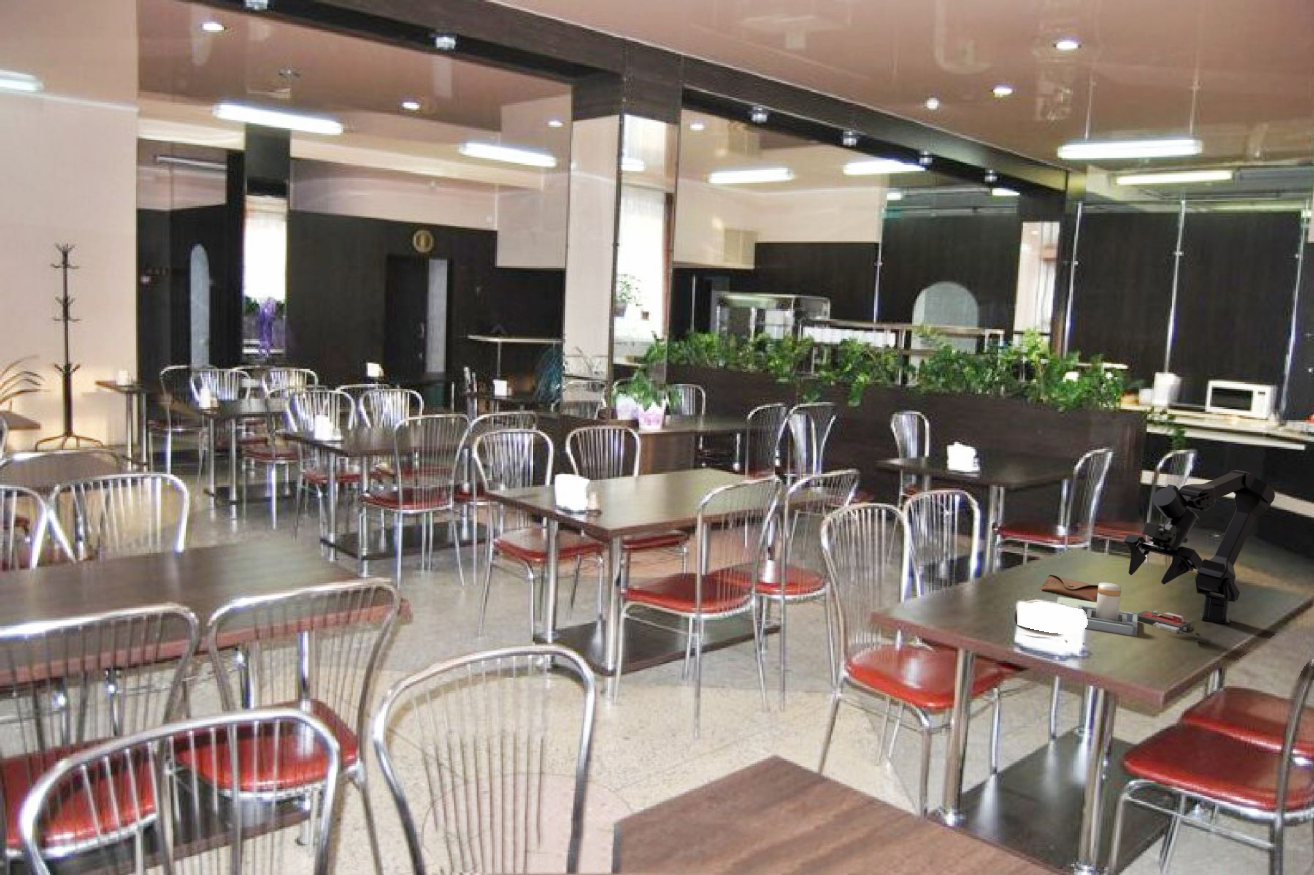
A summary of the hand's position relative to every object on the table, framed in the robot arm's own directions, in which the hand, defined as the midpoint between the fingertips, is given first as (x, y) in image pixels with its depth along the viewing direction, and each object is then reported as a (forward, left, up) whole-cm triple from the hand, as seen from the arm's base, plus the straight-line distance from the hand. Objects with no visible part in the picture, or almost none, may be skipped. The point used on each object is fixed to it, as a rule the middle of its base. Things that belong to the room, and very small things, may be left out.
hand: (1145, 578), depth 250 cm
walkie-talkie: (-5, +8, -14) cm, 17 cm away
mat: (-13, -15, -14) cm, 24 cm away
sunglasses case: (-28, -17, -14) cm, 36 cm away
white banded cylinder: (+2, -8, -13) cm, 15 cm away
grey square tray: (+2, -8, -14) cm, 16 cm away
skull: (+15, -24, -14) cm, 31 cm away
